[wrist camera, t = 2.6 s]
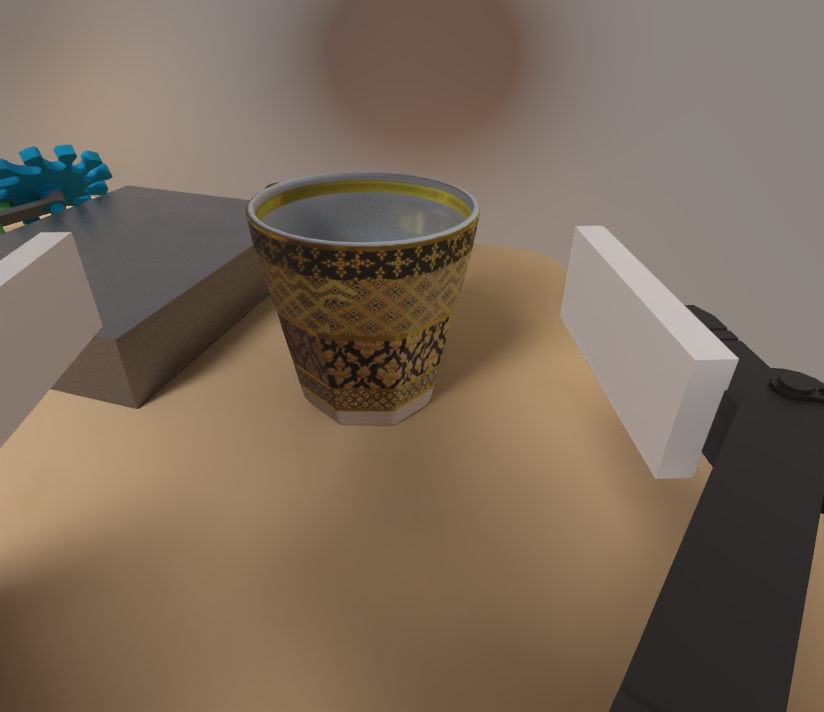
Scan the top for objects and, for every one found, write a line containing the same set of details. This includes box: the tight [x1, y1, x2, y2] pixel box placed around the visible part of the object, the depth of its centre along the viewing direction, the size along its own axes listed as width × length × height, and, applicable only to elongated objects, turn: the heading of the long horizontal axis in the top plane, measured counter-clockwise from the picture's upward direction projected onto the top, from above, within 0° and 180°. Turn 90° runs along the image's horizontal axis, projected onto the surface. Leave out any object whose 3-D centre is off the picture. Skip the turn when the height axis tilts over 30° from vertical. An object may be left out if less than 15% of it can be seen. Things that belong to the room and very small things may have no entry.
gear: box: [0, 145, 112, 235], centre depth 45 cm, size 11×6×10 cm
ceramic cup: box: [246, 171, 480, 425], centre depth 28 cm, size 13×10×10 cm
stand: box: [0, 186, 270, 409], centre depth 36 cm, size 16×20×4 cm
